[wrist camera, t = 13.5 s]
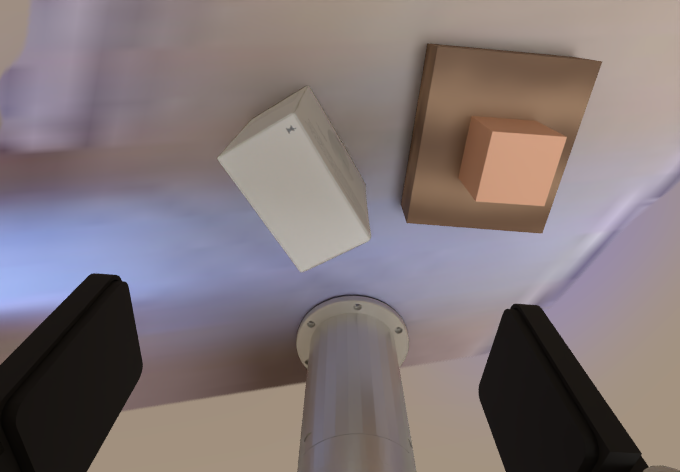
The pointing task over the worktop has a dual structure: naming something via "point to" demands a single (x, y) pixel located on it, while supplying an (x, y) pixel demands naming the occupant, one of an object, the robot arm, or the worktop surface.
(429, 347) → the worktop surface
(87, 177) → the worktop surface
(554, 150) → the terracotta cube
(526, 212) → the walnut stand
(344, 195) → the skincare box
